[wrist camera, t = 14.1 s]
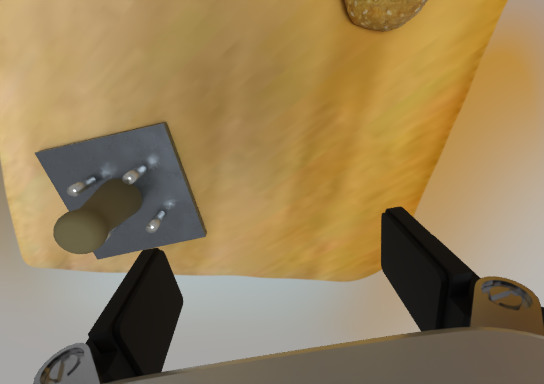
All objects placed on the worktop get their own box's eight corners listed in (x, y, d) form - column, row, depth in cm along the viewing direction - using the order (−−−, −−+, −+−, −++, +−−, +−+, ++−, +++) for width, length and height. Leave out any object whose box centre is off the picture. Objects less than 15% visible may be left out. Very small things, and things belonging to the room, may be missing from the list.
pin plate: (41, 150, 37) (8, 161, 32) (166, 122, 36) (152, 128, 31) (101, 254, 44) (82, 276, 39) (206, 232, 43) (200, 251, 38)
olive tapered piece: (150, 197, 39) (112, 239, 29) (126, 223, 40) (82, 271, 30) (114, 169, 37) (60, 204, 27) (90, 197, 38) (30, 240, 28)
